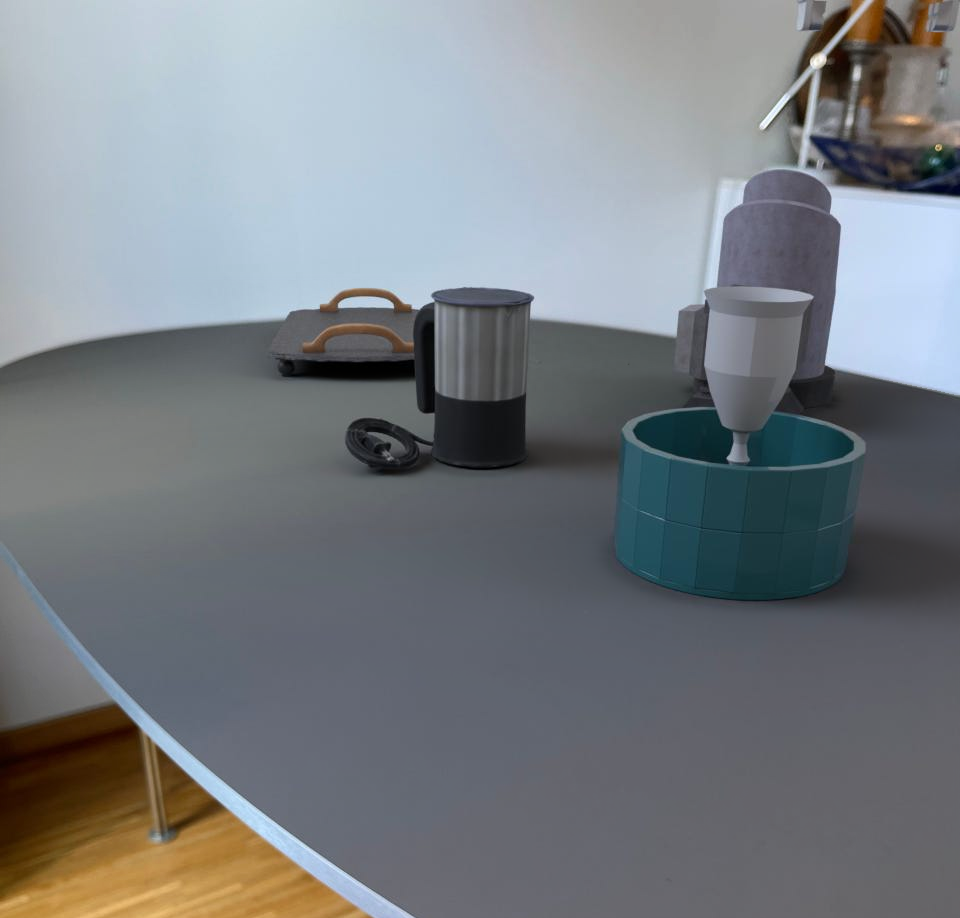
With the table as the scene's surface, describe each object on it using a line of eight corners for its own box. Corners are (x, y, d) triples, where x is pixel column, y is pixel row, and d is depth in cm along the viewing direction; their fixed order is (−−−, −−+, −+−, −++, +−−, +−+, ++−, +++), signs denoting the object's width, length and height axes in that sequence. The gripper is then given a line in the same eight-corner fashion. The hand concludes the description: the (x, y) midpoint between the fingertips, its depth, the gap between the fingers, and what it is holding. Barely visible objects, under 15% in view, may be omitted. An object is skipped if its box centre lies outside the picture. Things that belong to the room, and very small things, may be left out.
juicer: (713, 371, 137) (735, 163, 127) (842, 384, 131) (877, 167, 121) (645, 424, 113) (666, 171, 102) (799, 443, 107) (838, 177, 96)
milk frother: (547, 453, 102) (553, 292, 96) (451, 494, 91) (451, 314, 84) (428, 430, 110) (427, 279, 103) (325, 466, 98) (316, 298, 91)
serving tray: (292, 326, 163) (289, 284, 161) (443, 326, 165) (443, 284, 162) (262, 382, 129) (258, 329, 126) (454, 381, 130) (454, 329, 128)
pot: (807, 518, 86) (824, 408, 82) (877, 601, 71) (902, 471, 67) (602, 516, 86) (610, 405, 82) (629, 599, 71) (640, 468, 67)
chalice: (659, 544, 79) (681, 291, 71) (717, 525, 83) (745, 283, 75) (738, 573, 74) (772, 305, 66) (796, 551, 78) (835, 296, 70)
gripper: (764, -223, 68) (740, 26, 74) (1084, -221, 68) (1034, 28, 74) (742, -197, 74) (721, 33, 80) (1037, -194, 74) (994, 35, 80)
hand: (874, 31), depth 77 cm, fingers open, 8 cm apart
